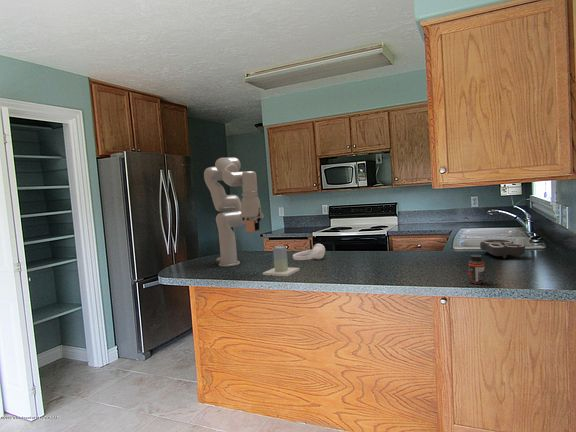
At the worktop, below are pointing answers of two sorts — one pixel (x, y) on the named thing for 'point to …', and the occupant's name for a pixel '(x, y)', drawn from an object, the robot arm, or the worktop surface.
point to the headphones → (311, 253)
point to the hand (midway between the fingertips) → (252, 229)
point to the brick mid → (279, 253)
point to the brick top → (250, 225)
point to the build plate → (277, 273)
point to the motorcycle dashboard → (502, 247)
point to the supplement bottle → (476, 270)
